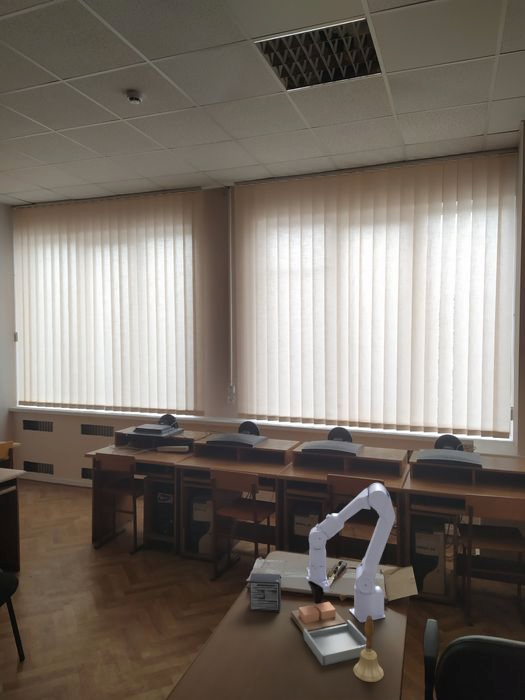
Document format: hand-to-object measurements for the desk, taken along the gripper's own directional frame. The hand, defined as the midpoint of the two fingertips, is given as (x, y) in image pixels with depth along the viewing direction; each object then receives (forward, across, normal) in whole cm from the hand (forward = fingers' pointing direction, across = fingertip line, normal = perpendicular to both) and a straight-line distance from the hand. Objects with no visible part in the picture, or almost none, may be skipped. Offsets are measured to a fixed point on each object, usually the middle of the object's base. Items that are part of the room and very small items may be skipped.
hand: (317, 602), depth 174 cm
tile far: (+1, +6, -6) cm, 9 cm away
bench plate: (+3, +7, -3) cm, 8 cm away
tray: (+3, +20, -3) cm, 21 cm away
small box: (+3, -8, -16) cm, 18 cm away
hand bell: (+3, +34, 0) cm, 34 cm away
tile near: (+1, +6, 0) cm, 6 cm away
